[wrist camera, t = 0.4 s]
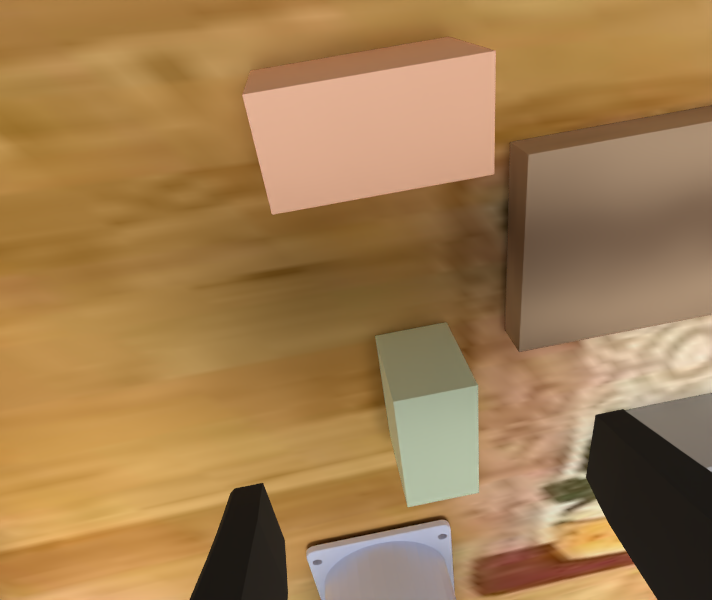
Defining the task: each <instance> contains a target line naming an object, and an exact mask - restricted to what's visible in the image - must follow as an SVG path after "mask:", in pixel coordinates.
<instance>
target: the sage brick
mask: <svg viewBox="0 0 712 600" xmlns="http://www.w3.org/2000/svg"><path fill="white" fill-rule="evenodd" d="M375 338H376V345H377V351H378V358H379V365H380V372H381V378H382V385H383V392H384V399H385V405H386V412H387V419H388V425H389V432H390V438H391V442H392V446H393V450H394V454H395V458H396V462H397V466H398V470H399V474H400V478H401V482H402V486H403V490H404V494H405V498H406V502H407V507H412V506H417V505H421V504H426V503H431V502H436V501H441V500H446V499H451V498H456V497H461V496H465V495H470V494H475V493H479V444H478V384H477V382H476V380H475V378H474V376H473V374H472V372H471V370H470V368H469V366H468V364H467V362H466V360H465V358H464V356H463V354H462V352H461V350H460V348H459V346H458V344H457V342H456V340H455V338H454V336H453V334H452V332H451V330H450V328H449V326H448V324H447V322H445V323H440V324H434V325H429V326H424V327H419V328H413V329H408V330H403V331H398V332H393V333H387V334H382V335H377V336H375Z"/></svg>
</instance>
